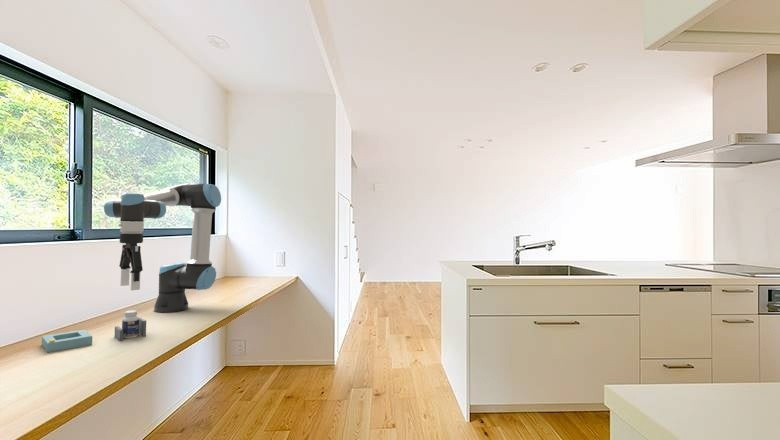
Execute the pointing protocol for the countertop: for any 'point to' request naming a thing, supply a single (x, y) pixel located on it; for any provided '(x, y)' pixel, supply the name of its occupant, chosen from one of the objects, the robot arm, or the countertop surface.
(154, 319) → the countertop surface
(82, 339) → the frame
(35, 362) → the countertop surface
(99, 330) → the countertop surface
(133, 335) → the pill bottle
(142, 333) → the gray upright plates
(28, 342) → the countertop surface
